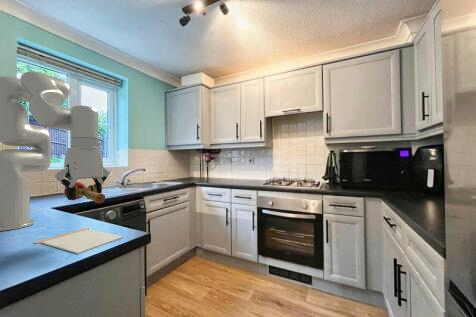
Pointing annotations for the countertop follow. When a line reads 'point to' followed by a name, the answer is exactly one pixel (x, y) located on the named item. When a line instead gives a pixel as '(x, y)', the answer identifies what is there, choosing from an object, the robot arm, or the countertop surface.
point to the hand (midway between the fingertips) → (85, 197)
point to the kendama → (87, 192)
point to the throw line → (59, 236)
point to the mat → (82, 241)
